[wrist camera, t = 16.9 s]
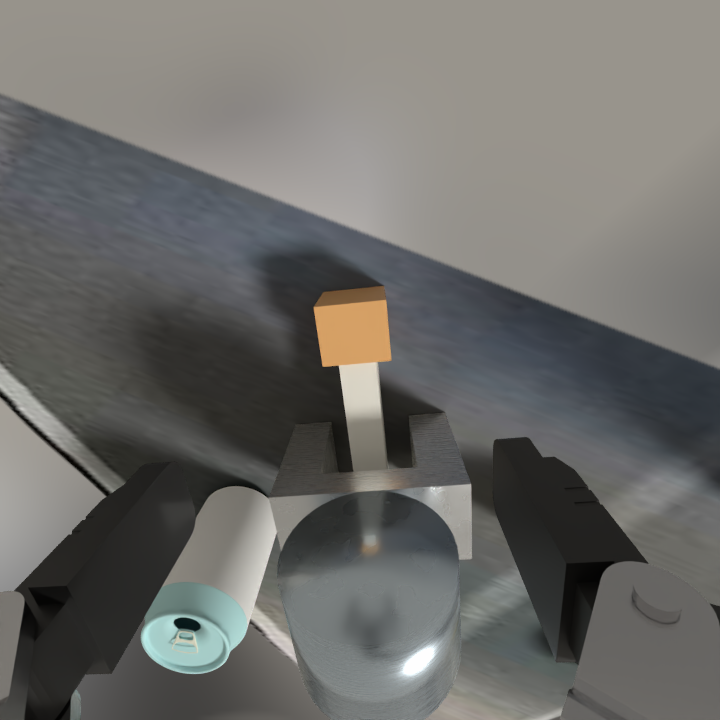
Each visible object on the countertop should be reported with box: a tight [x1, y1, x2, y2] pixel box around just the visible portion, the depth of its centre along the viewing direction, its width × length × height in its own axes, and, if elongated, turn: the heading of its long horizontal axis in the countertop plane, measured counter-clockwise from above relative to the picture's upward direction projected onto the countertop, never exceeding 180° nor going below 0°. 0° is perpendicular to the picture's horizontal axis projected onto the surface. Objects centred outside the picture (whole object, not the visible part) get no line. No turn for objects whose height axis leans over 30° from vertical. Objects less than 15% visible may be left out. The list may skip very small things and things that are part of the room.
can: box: [141, 486, 277, 674], centre depth 30 cm, size 7×7×12 cm
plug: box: [314, 286, 391, 472], centre depth 29 cm, size 4×20×5 cm, turn 6°
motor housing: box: [269, 412, 472, 720], centre depth 25 cm, size 12×6×18 cm, turn 96°
